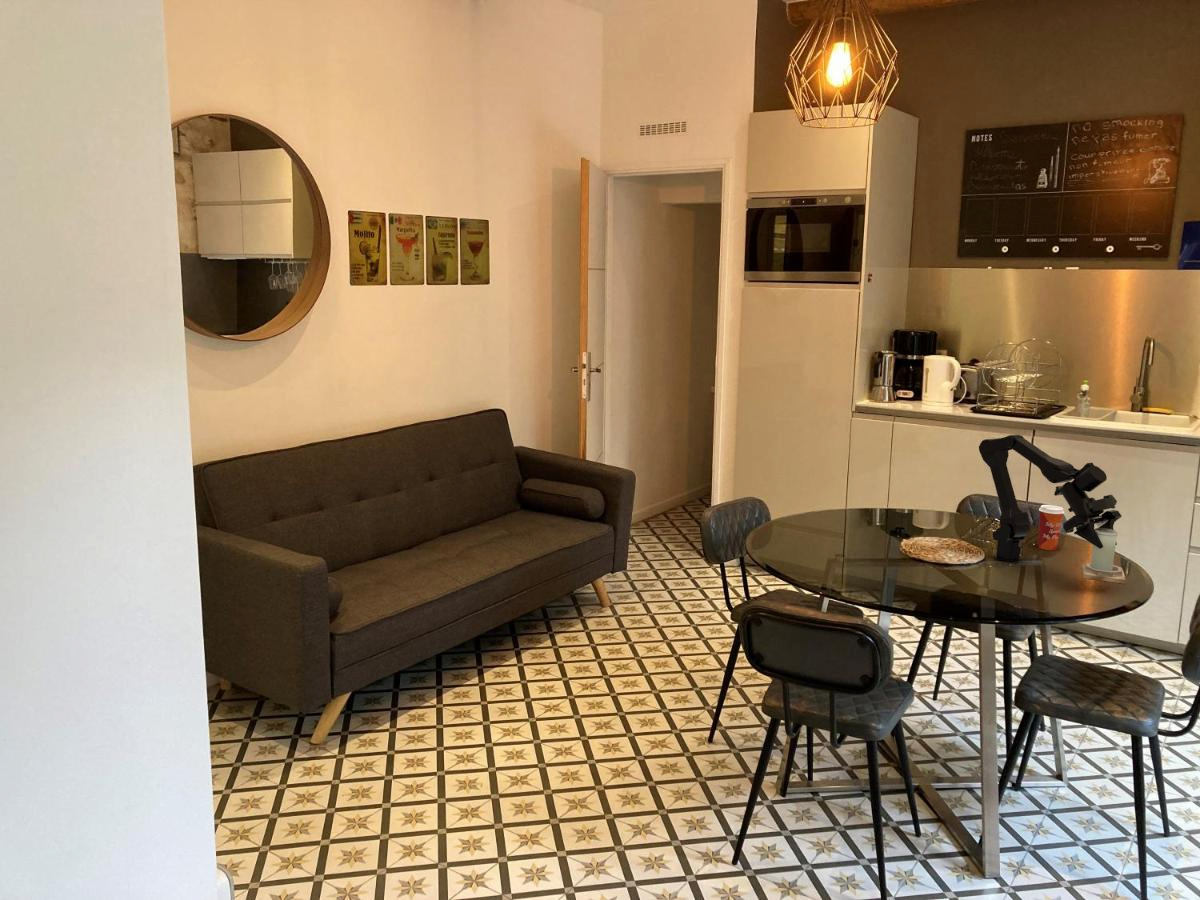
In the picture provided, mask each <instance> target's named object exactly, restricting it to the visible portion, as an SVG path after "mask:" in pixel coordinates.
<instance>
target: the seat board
mask: <svg viewBox="0 0 1200 900" xmlns="http://www.w3.org/2000/svg"><path fill="white" fill-rule="evenodd" d="M1081 570H1082V578H1083V579H1086V580H1096V581H1103V582H1108V583H1118V584H1123V585H1126V582H1127V581H1126V580H1127V579H1126V576H1125V572H1124V570H1123V567H1120V566H1118V565H1116V564H1113V569H1112V570H1111V571H1102V570H1097V569H1094V568H1092V567H1091V562H1086V563H1085V564H1081Z"/></svg>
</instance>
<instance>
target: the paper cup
mask: <svg viewBox="0 0 1200 900" xmlns="http://www.w3.org/2000/svg"><path fill="white" fill-rule="evenodd" d="M1038 511H1039V515H1038V516H1039V517H1038V518H1039V519H1038V520H1039V521H1038V542H1037V543H1038V545H1037V546H1038V548H1039V549H1040V548H1041V549H1040V550H1044V549H1045V551H1056V550H1057V548H1058V544H1059V539H1060V533H1061V528H1062V524H1063V523H1062V522H1063V517H1064V514H1065V511H1064V508H1063V507H1062V506H1058V505H1053V504H1042V505H1040V507H1039V509H1038ZM1055 549H1056V550H1055Z"/></svg>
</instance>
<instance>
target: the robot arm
mask: <svg viewBox="0 0 1200 900" xmlns="http://www.w3.org/2000/svg"><path fill="white" fill-rule="evenodd" d="M1012 450H1013V451H1014V452H1016V453H1017V454H1019V455H1020V456H1021V457H1023V458H1024V459H1026V460H1027V461H1029V462H1030V463H1031V464H1032V465H1034V466H1036V467H1037V468H1039V470H1040V472H1041V474H1042V476H1043V477H1044V478H1045V479H1047V481H1048V482H1049V483H1052V484H1061V483H1063V484H1062V485H1059V486H1058V485H1057V486H1056V487H1055V491H1054V494H1053V495H1054V496H1062V497H1063V498H1064V501H1066V503H1067V504H1068V506H1069V508H1068V509H1067V510H1068V512H1069V513H1073V514H1074V515H1073V516H1071V517H1070V518H1069V519H1067V520H1066V521H1065V522H1063V523H1062V529H1063V531H1064V532H1065V534H1068V533H1070V534H1071V533H1073V534H1074V535H1077V536H1079V537H1080V538H1082V539H1083V540H1085V541H1087V542H1088V543H1090V544H1092V546H1093V545H1095V546H1096V547H1098V548H1099V549H1101V548H1103V545H1102V543H1101V541H1100V539H1099V537H1098V535H1097V533H1096V532H1095V525H1096V526H1097V528H1106V529H1112V530H1114V525H1115V523H1116V522H1117V521H1118V520H1119V519H1121V518H1122V513H1120V511H1119V510H1115V509H1116V505H1117V502H1118V500H1117V499H1116V497H1115V496H1113V494H1108V495H1104V496H1103V498H1100V499H1096V498H1094V497H1089V496H1088V494H1087V492H1088V493H1090V492H1092V491H1095V489H1097V488H1098V487H1100V486H1101V485H1102V484H1103V483H1105V482H1106V481H1107V480H1108V479H1107V475H1106V472H1105V470H1103V469H1101V467H1099V466H1096V465H1095V464H1094V462H1087V463H1086V464H1084V465H1083V467H1081V469H1078V468H1075V466H1074V465H1073V464H1071V463H1070V462H1067V461H1065V460H1063V459H1058V458H1055V457H1053V456H1051V455H1049V454H1048V453H1046V452H1045V451H1043V450H1042V449H1040V448H1039V447H1037V445H1036V446H1035V444H1033V443H1031V441H1029V440H1028V439H1026V438H1024V436H1023V435H1022V434H1010V435H1006V436H1005V437H999V438H987V439H983V440H982V441H980V444H979V445H978V452H979V453H980V456H981V458H982V461H983V462H984V463H985V464H986V465H987V466H988V468H990V472H991V476H992V481H993V484H994V487H995V492H996V495H997V499H998V502H999V507H1000V509H1001V513H1000V516H999V517H1000V518H999V527H998V528H997V529H996V530H994V531H993V532H992V538H993V540H994V541H997V543H996V545H997V547H996V553H995V556H994V557H995V560H999V561H1006V562H1011V563H1012V562H1013V563H1018V561H1019V560H1020V558H1021V551H1022V550H1021V548H1022V545H1021V544H1020V541H1025V539H1026V537H1027V535H1028V534H1029V532H1030V530H1031V526H1030V525H1032V523H1031V521H1030V520H1029V513H1028V512H1027V511H1022V510H1021V509H1020V508H1019V505H1018V502H1017V499H1016V495H1015V491H1014V490H1015V489H1014V488H1013V483H1012V480H1011V476H1010V473H1009V468H1008V465H1007V462H1008V459H1009V454H1010V453H1009V451H1012ZM1110 509H1111V510H1110ZM1074 530H1075V531H1074ZM1117 545H1118V543H1117V541H1116V545H1115V547H1116V546H1117Z"/></svg>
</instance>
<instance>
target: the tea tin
mask: <svg viewBox="0 0 1200 900" xmlns="http://www.w3.org/2000/svg"><path fill="white" fill-rule="evenodd" d="M1094 530H1095V532H1096V533H1097V535H1098V537H1099V539H1100V541H1101V543H1102V545H1103V548H1101V549H1099V548H1098V547H1096V546H1095V545H1093V544H1092V550H1091V551H1092V552H1091V559H1090V563H1091V567H1092V568H1094V569H1097V570H1102V571H1111V570H1112V569H1113V565H1114V560H1115V559H1114V558H1115V551H1116V546H1117V545H1116V542H1117V538H1118V537H1117V536H1118V531H1117V530H1112V529H1106V528H1098V527H1096V528H1094ZM1115 545H1116V546H1115Z"/></svg>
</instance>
